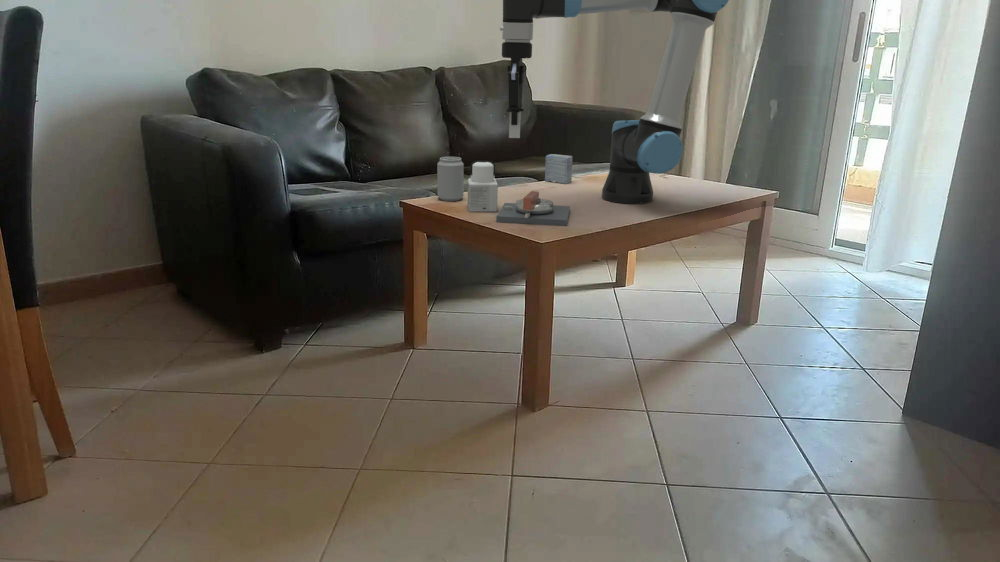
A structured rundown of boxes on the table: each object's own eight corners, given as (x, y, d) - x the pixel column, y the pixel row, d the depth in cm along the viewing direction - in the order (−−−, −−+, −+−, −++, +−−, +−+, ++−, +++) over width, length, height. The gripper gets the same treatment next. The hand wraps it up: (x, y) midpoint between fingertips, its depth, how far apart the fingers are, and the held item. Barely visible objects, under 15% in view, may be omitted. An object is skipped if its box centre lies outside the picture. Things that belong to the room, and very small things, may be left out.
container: (467, 205, 202) (467, 159, 198) (495, 205, 203) (496, 159, 199) (468, 211, 195) (469, 163, 191) (497, 212, 195) (498, 164, 191)
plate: (569, 211, 198) (570, 203, 197) (566, 225, 183) (567, 217, 182) (504, 208, 200) (504, 199, 199) (496, 221, 185) (496, 213, 184)
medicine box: (571, 182, 238) (573, 156, 235) (565, 184, 234) (567, 157, 231) (550, 179, 241) (551, 153, 239) (544, 181, 238) (545, 155, 235)
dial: (520, 204, 196) (521, 186, 195) (556, 207, 194) (557, 189, 192) (507, 215, 184) (508, 196, 182) (546, 219, 181) (546, 199, 180)
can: (459, 202, 205) (459, 160, 201) (434, 200, 207) (434, 159, 203) (466, 197, 212) (466, 156, 208) (441, 195, 214) (441, 155, 210)
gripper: (505, 40, 185) (503, 133, 193) (498, 41, 173) (496, 140, 181) (534, 41, 184) (531, 134, 192) (529, 41, 172) (526, 141, 180)
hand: (514, 137), depth 186 cm, fingers closed
